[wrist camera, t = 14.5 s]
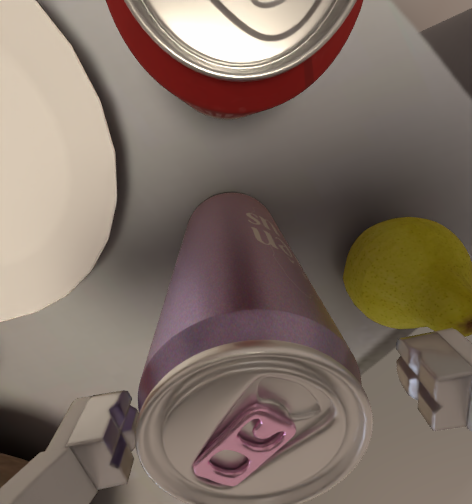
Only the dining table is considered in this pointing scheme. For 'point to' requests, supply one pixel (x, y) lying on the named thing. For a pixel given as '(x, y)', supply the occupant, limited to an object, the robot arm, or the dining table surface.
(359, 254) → the fruit
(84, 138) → the plate
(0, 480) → the bowl
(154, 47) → the soda can
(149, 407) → the beverage can
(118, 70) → the dining table surface
